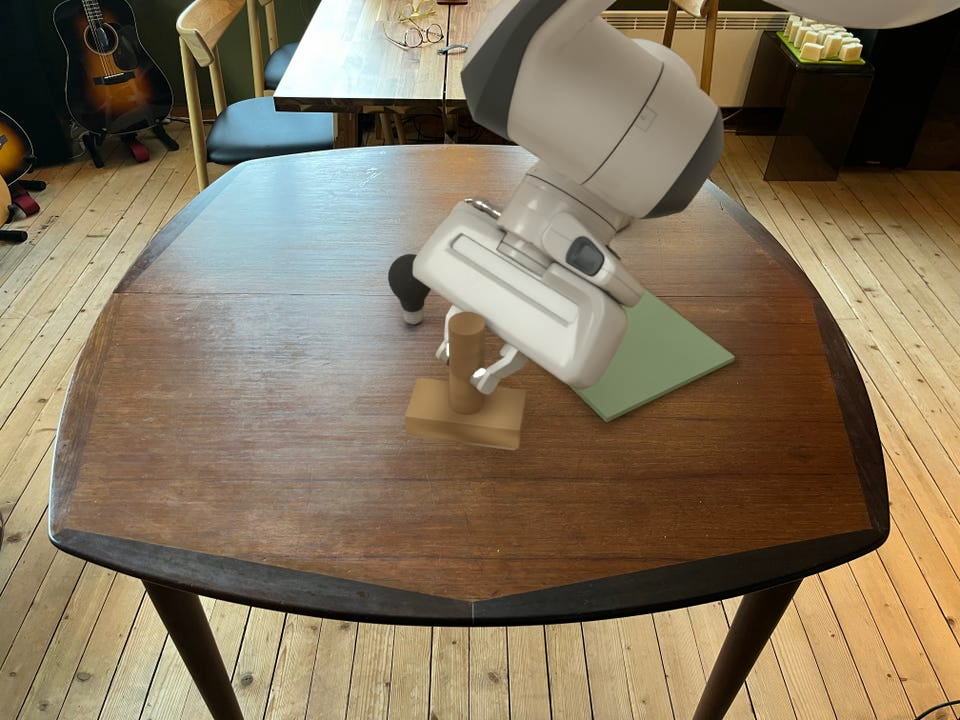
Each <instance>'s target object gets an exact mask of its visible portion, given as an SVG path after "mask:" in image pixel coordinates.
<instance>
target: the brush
mask: <svg viewBox="0 0 960 720" xmlns="http://www.w3.org/2000/svg"><path fill="white" fill-rule="evenodd" d="M448 346H449V366H448V377H449V378H448V379H449V380H443V379H435V378H426V377H420V376H419V377H417V378H416V381H415V384H414V388H413V390H412V394H411V397H410V400H409V403H408V406H407V408H406V412H405V414H404V421H405V431H406V436H410V437H411V438H415V439H422V440H430V441H437V442H446V443H453V444H462V445H469V446H478V447H485V448H493V449H501V450H507V451H508V450H509V451H516V450H517V449H518V450H519V449H520V443H521V437H522V432H523V431H522V430H523V425H524V420H525V419H524V418H525V414H526V405H527V404H526V403H527V402H526V401H527V389H521V388H513V387H504V386H496V387H495V389H494V390H493V392H492V393H491V394H489V395H486V394H484V393H481V392H480V391H479V390H477V389H476V388H475V387H473V386H472V385H471V384H470V383H469V380H470V378H471V376H473V375H474V372H475V370H476V369H477V367H478V366H479V365H480V366H483V367H485V366H486V327H485V320H484V318H483V317H482V316H481V315H479V314H477V313H474V312H460V313H457V314H454V315H453V316H452V317H451V318H450V319H449V321H448ZM485 368H486V367H485Z"/></svg>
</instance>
